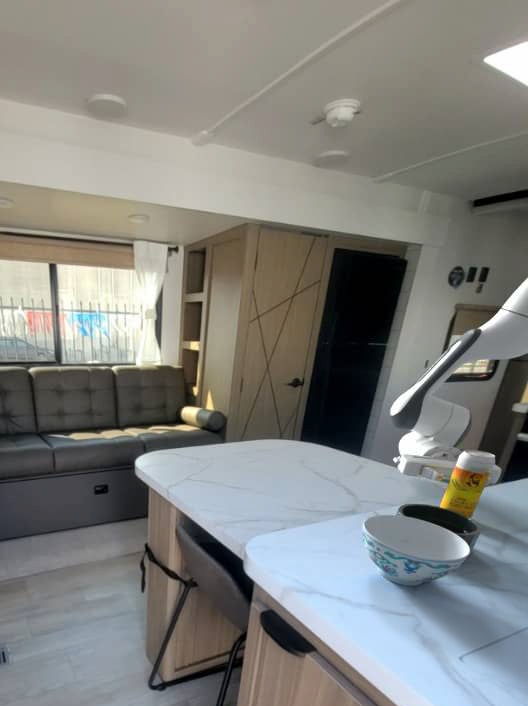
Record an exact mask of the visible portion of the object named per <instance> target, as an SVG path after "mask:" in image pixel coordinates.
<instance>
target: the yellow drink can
mask: <svg viewBox="0 0 528 706" xmlns="http://www.w3.org/2000/svg"><path fill="white" fill-rule="evenodd" d="M463 450H464V452H463V453H462V454H461V455H460V456H459V459H458V461H457V464H456V467H455V469H454V472H453V474H452V477H451V479H450V480H449V482H448V485H447V487H446V490H445V493H444V495H443V497H442V500H441V502H440V505H439V507H442V508H446V509H449V510H452V511H455V512H458V513H461V514H463V515H465V516H467V517H469V518H471V519H472V516H473V514H474V512H475V510H476V508H477V505H478V503H479V501H480V499H481V496H482V494H483V491H484V489H485V487H486V486H485V485H486V482H487V480H488V478H489V475H490V473H491V471H492V468H493V466H494V464H495V465H496V455H495V454H492V453H491V452H486V451H482V450H476V449H463Z"/></svg>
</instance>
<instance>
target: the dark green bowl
mask: <svg viewBox="0 0 528 706" xmlns="http://www.w3.org/2000/svg"><path fill="white" fill-rule="evenodd" d="M395 515H397V516H404V517H410V518H415V519H419V520H423V521H426V522H429V523H432V524H435V525H438V526H440V527H442V528H445V529H447V530H449V531H451V532H453V533H454V534H456V535H458V536H459V537H461V538H462V539H463V540H464V541H465V542H466V543H467V544H468V545H469V547H470V554H469V556H468V557H467V558H466V559H465V560H467V559H469V558H470V556H471V554H472V553H473V550H474V548H475V545H476V544H477V541H478V540H479V537H480V535H481V532H482V530H483V528H482V526H481V525H480V523H478V522H477V521H476V520H474V519H473V518H472V517H471V518H469V517H467V516H465V515H463V514H461V513H458V512H455V511H452V510H449V509H446V508H442V507H440V506H437V505H432V504H424V503H407V504H403V505H402V504H401V505H400V507H398V508H397V511H396V514H395Z"/></svg>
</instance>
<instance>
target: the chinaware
mask: <svg viewBox="0 0 528 706" xmlns="http://www.w3.org/2000/svg"><path fill="white" fill-rule="evenodd" d="M362 541H363V545H364V549H365V552H366V553H367V555H368V557H369V558H370V560H371V561H372V562H373V563H374V564H375V565H376V567H377V570H378V572H379V574H380V575H381V576H383V577H384V578H385V579H387V580H389V581H391V582H393V583H396V584H398V585H403V586H409V587H411V586H412V587H414V586H419V585H422V583H423V582H430V581H434V580H438V579H441V578H444V577H446V576H447V575H450V574H451V573H452V572H454V571H455V570H457V569H458V568H459V567H460V566H461V565H462V564H463V563H464V562H465V561H466V560H467V559H468V558H467V557H468V556H469V554H470V547H469V545H468V544H467V543H466V542H465V541H464V540H463V539H462V538H461V537H459V536H458V535H456V534H454V533H453V532H451V531H449V530H447V529H445V528H442V527H440V526H438V525H435V524H432V523H429V522H426V521H423V520H419V519H415V518H410V517H404V516H397V515H396V514H395V515H394V514H379V515H372V516H370V517H368V518H366V519H365V520H364V521H363V523H362ZM469 557H470V556H469ZM466 558H467V559H466Z"/></svg>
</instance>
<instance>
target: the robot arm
mask: <svg viewBox="0 0 528 706" xmlns="http://www.w3.org/2000/svg"><path fill="white" fill-rule="evenodd" d="M527 354H528V277H527V278H526V279H525V280H524V281H523V282H522V283H521V284H520V285H519V286H518V288H517V289H515V290H514V292H513V293H512V294H511V295H510V297H509V298H508V299H507V300H506V302H505V303H504V304H503V305H502V307H501V308H500V309H499V310H498V311H497V313H496V314H495V315H494V316H493V317H491V319H489V320H488V321H487V322H486V323H484V324H483V325H481V326H480V327H478V328H473V329H470V330H467V331H466V332H464V333H463V334H462V335H460V336H459V337H458V338H457V339H456V340H455V341H454V342H453V343H452V344H450V346H448V348H447V349H446V350H445V351H444V352H443V353H442V354H441V355H440V356H439V357H437V359H436V360H435V361H434V362H433V363H432V365H431V366H430V367H428V369H427V370H426V371H425V372H424V373H423V374H422V375H421V376H420V377H419V378H418V379H417V380H416V381H415V382H414V383H413V384H412V385H411V386H410V387H408V388H407V389H406V390H405V391H404V392H402V393H401V395H399V396H398V397H397V398H396V399H395V401H394V402H393V404H392V406H391V407H390V409H389V417H390V420H391V422H392V424H393V426H394V427H395V428H397V429H400V430H405V431H409V433H406V434H405V435H403V436H402V438H401V439H400V440H399V443H398V452H399V455H400V456H397V457H396V456H394V457H393V459H392V461H393V462H394V463H395V464H397V470H398V471H399V472H400V473H401V474H402V475H404V476H407V477H419V478H425V479H428V480H431V481H434V482H442V481H443V480H447V481H448V480H449V481H450V479H451V477H452V474H453V472H454V469H455V467H456V464H457V461H458V459H459V456H460V455H461V454H462V453H463V452H464V450H465V449H463V448H457V447H459V445H460V444H462V442H464V440H465V439H466V437H468V435H469V434H470V432H471V429H472V424H473V416H472V412H471V410H470V409H469V408H467V407H464V406H462V405H459V404H456V403H454V402H452V401H451V402H450V401H447V400H444V399H442V398H439V397H438V396H434V395H433V394H434V393H435V392H436V391H437V390H438V389H439V388H440V387H441V386H442V385H443V384H444V383H445V382H446V381H447V380H448V379H449V378H450V377H451V376H452V375H453V374H454V373H455V372H456V371H457V370H458V369H459V368H461V367H462V366H464V365H466V364H469V363H472V362H476V361H486V360H490V361H492V360H509V359H515V358H519V357H522V356H524V355H527ZM501 473H502V468H501V467H499V466H498V465H497V464H496V463H495V464H494V466H493V468H492V471H491V473H490V475H489V478H488V480H487V482H486V485H485V487H488V486H490V485H494V484H496V483H497V482H498V480H499V478H500V477H501Z"/></svg>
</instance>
